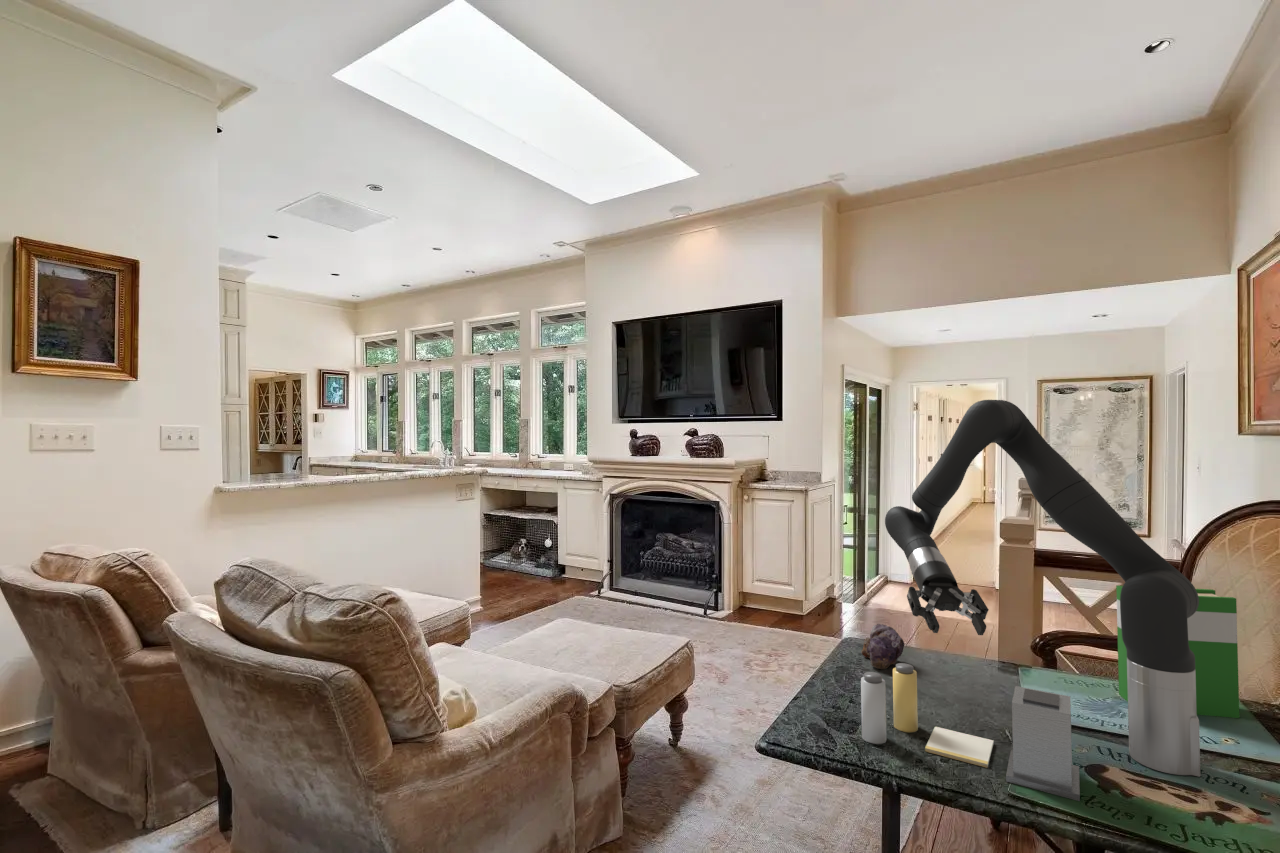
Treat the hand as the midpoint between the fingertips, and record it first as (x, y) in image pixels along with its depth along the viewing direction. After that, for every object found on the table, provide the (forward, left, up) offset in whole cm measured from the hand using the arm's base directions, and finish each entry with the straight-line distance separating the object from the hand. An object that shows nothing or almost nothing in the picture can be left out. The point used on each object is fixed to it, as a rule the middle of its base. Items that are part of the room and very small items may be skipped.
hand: (959, 631), depth 120 cm
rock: (+22, -30, -20) cm, 42 cm away
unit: (-14, +9, -20) cm, 26 cm away
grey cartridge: (+13, +11, -20) cm, 26 cm away
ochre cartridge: (+9, +3, -20) cm, 22 cm away
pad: (-1, +6, -20) cm, 21 cm away
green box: (-36, -38, -20) cm, 55 cm away
